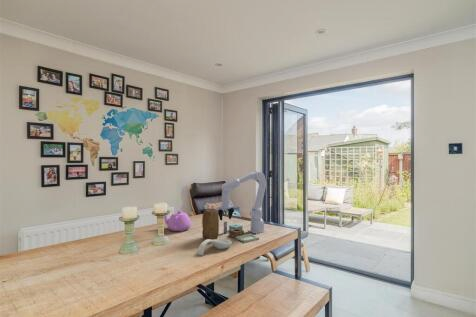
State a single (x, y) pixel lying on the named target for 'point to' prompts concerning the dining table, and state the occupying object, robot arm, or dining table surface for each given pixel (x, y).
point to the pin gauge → (225, 227)
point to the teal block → (235, 226)
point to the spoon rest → (216, 242)
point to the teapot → (178, 221)
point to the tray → (247, 238)
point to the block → (210, 224)
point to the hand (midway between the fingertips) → (225, 219)
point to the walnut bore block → (236, 232)
